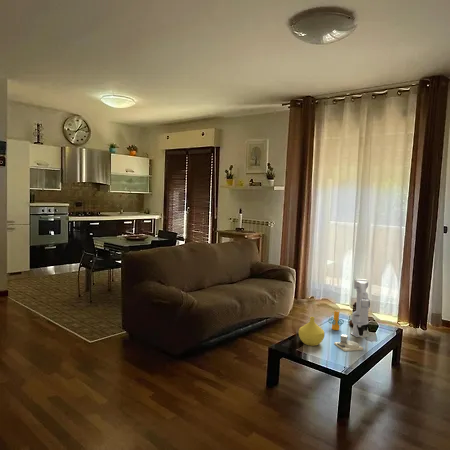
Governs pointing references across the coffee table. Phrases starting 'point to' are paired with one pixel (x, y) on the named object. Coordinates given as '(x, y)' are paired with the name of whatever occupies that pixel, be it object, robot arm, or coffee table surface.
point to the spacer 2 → (363, 334)
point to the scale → (349, 346)
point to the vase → (311, 333)
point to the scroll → (353, 311)
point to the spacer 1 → (344, 338)
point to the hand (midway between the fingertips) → (362, 334)
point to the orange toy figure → (336, 321)
